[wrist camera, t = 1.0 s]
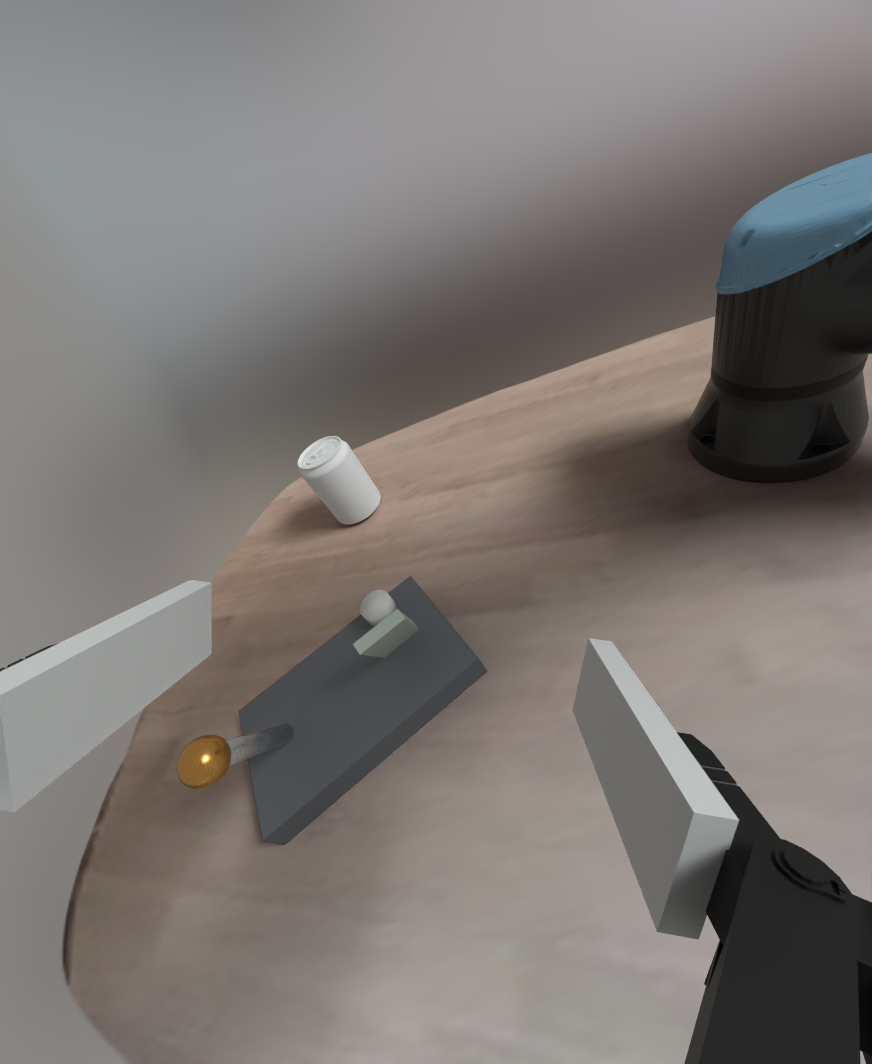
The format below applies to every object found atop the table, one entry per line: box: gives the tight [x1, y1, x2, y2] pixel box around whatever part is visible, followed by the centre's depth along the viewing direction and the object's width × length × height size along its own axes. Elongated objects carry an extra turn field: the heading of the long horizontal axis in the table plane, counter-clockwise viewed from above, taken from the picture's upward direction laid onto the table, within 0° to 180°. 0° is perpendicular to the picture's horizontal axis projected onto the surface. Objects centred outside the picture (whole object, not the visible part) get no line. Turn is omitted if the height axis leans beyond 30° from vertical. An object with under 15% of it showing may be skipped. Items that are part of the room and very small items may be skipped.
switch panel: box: [239, 576, 487, 845], centre depth 43 cm, size 24×14×3 cm, turn 122°
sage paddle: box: [353, 609, 419, 658], centre depth 37 cm, size 4×1×10 cm, turn 122°
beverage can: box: [298, 436, 381, 525], centre depth 63 cm, size 8×8×12 cm
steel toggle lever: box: [177, 723, 293, 789], centre depth 33 cm, size 3×3×14 cm
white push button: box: [360, 590, 397, 626], centre depth 45 cm, size 4×4×2 cm
